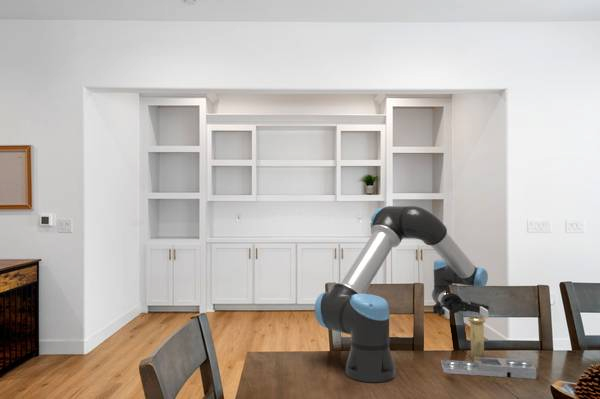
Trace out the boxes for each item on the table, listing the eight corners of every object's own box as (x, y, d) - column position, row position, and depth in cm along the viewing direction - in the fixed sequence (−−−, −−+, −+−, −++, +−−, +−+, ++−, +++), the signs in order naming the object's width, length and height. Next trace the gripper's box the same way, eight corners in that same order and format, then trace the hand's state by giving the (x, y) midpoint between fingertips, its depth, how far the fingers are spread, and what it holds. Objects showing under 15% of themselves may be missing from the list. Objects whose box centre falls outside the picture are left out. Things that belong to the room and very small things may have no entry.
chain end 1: (443, 373, 139) (443, 365, 139) (441, 364, 147) (441, 357, 147) (506, 377, 135) (506, 369, 135) (500, 368, 143) (500, 360, 143)
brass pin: (470, 362, 148) (469, 319, 148) (468, 357, 153) (467, 315, 153) (487, 363, 147) (486, 320, 147) (484, 358, 152) (483, 316, 152)
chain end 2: (478, 375, 137) (478, 363, 137) (474, 366, 144) (474, 355, 145) (536, 379, 133) (536, 366, 133) (528, 369, 141) (528, 358, 141)
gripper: (482, 311, 181) (504, 324, 160) (418, 311, 182) (432, 325, 161) (481, 292, 181) (503, 303, 160) (418, 292, 182) (432, 304, 161)
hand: (467, 314), depth 160 cm, fingers open, 13 cm apart
